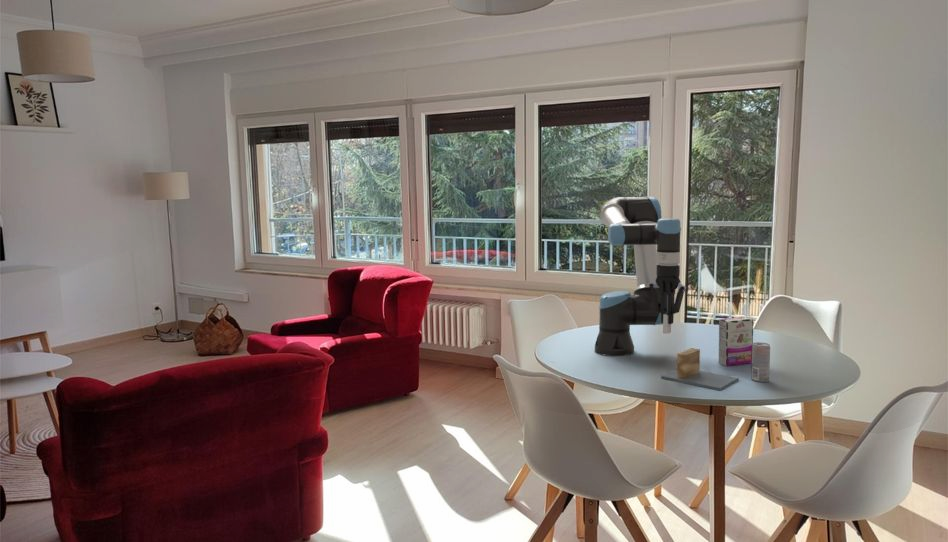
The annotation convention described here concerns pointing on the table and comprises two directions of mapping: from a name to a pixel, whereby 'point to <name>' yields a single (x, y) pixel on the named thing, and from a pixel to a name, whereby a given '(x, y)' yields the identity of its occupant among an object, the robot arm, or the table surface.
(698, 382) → the mat
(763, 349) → the energy drink
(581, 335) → the table surface
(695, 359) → the slab
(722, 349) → the candy bar box
